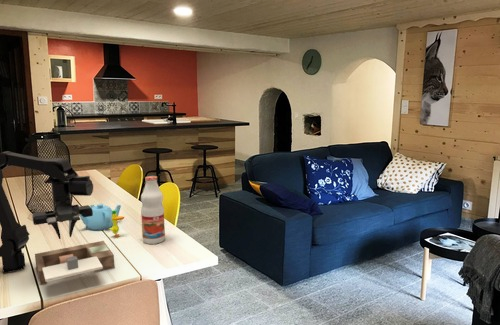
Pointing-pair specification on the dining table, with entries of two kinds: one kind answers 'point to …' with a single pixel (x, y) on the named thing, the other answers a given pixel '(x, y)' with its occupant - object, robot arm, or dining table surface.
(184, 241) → the dining table surface
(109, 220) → the teapot
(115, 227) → the toy figure
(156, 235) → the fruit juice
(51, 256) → the brown shallow open box
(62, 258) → the block
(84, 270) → the cover
